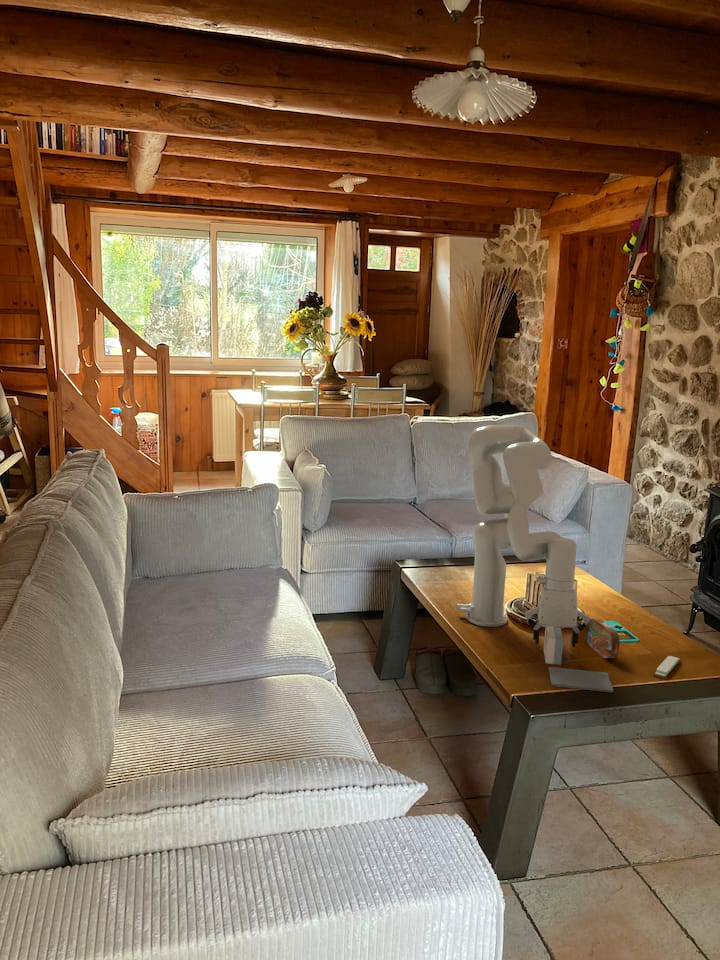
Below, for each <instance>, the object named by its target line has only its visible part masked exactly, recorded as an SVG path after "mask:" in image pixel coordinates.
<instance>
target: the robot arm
mask: <svg viewBox="0 0 720 960" xmlns="http://www.w3.org/2000/svg"><path fill="white" fill-rule="evenodd" d="M467 441H468V442H467V454H468V458H469V462H470V464H471V470H472V480H473V491H474V499H475V500H474V501H475V507H476V509H477V511H478V513H479V514H481V515H483V516H493V515H495V516H496V515H504V518H492V519H487V520H486V519H485V520H483V521H481V522H479V523H477V524H476V525H475V527H474V528H473V533H472V539H473V548H474V565H473V567H474V568H473V581H472V583H473V584H472V598H471V601H470V603H467V604H464V603H456V604H457V605H456V610H457V611H458V610H459V611H460V613H466V614H465V619H466V620H467V621H468V622H469V623H471V624H474V625H476V626H480V627H487V628H495V627H501V626H504V625H506V624H507V623H508V616H507V615H506V614H505V613H504V600H505V599H504V598H505V588H506V578H507V577H506V575H507V563H506V561H505V559H504V556H503V554H502V551H506V550H513V553H514V555H515V556H516V558H517V559H518V560H520V561H522V562H532V561H537V560H546V564H545V575H544V577H541V578H539V584H542V585H543V586H542V587H541V590H540V591H541V592H540V595H539V601H538V606H535V607H533V608H531V609H529V610H526V611H524V617H525V619H526V621H527V623H528V624H529V626H531V627H532V629H533V637H532V639H533V641H535V645H539V644H540V630H541V629H540V628H541V627H542V626H545V627H546V626H547V627H558V628H572V630H571V642H570V644H571V648H576V645H577V644H578V643H579V635H580V633H581V632H582V631H583V630H584V629H586V626H587V624H588V623H589V621H590V619H591V617H590V616H589V615H587V614H586V613H583V612H582V611H581V610H578V594H577V590H576V589H575V588H574V586H575V575H576V574H575V573H576V561H577V543H576V542H575V540H573V539H571V538H568V537H563V536H562V535H560V534H559V533H557V532H555V531H551V530H545V531H536V532H530V528H529V514H528V510H529V508H530V507H531V506H532V504H534V503H535V502H537V501H538V500H540V499H542V497H544V492H545V491H544V488H543V487H544V486H543V485H542V480H541V477H540V473H539V471H543V470H547V469H548V468H549V467H550V465H551V463H552V459H553V458H552V457H553V456H552V452H551V450H550V448H549V446H548V445H547V443H546V442H545V441H544V440H543V439H542V438H540V437H539V436H537V435H536V434H535V433H533V432H532V431H531V430H529V429H528V428H526V427H525V426H523V425H520V424H493V425H491V424H490V425H484V426H483V425H482V426H481V427H477V428H475V429H474V430H473V431H472V432H471V434H470V435H469V437H468V440H467ZM497 454H498V455H499V454H502V459H503V463H504V464H503V465H504V468H505V470H506V471H505V472H506V474H507V475H506V476H507V478H508V481H506V482H505V481H504V482H503V478H502V475H503V474H502V469H501V468H502V467H501V466H500V463H499V462H498V460H497V459H496V458H495V456H494V455H497ZM536 614H537V619H536V620H534V619H533V618H532V616H533V615H536ZM578 617H579V618H580V619H582V621H581V622H579V624H577V623H578Z"/></svg>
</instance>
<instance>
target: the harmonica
mask: <svg viewBox="0 0 720 960" xmlns="http://www.w3.org/2000/svg"><path fill="white" fill-rule="evenodd" d="M681 661H682V660H681V658H680V657H676V656H672V655H668V656H667V657H666V658H665V659H664V660H663V661H662V662H661V663H660V664H659V666H658V667H657V668H656V671H655V672H654V673H653V675H652V676H653V677H654V678H658V679H661V680H667V678H668V677H669V676H670V674H672V672H673V671H674V670H675V669H676V667H677V666H678V665H679V664H680V663H681ZM679 662H680V663H679Z"/></svg>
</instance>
